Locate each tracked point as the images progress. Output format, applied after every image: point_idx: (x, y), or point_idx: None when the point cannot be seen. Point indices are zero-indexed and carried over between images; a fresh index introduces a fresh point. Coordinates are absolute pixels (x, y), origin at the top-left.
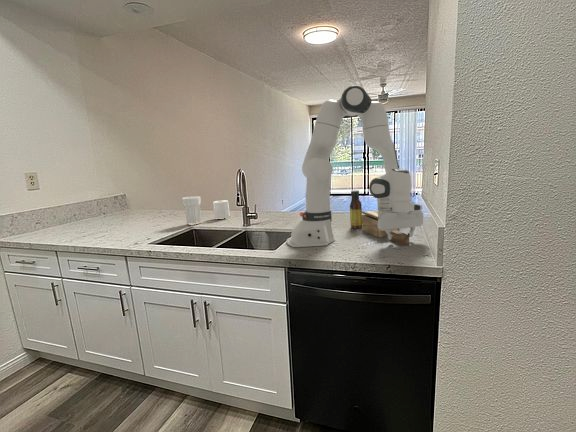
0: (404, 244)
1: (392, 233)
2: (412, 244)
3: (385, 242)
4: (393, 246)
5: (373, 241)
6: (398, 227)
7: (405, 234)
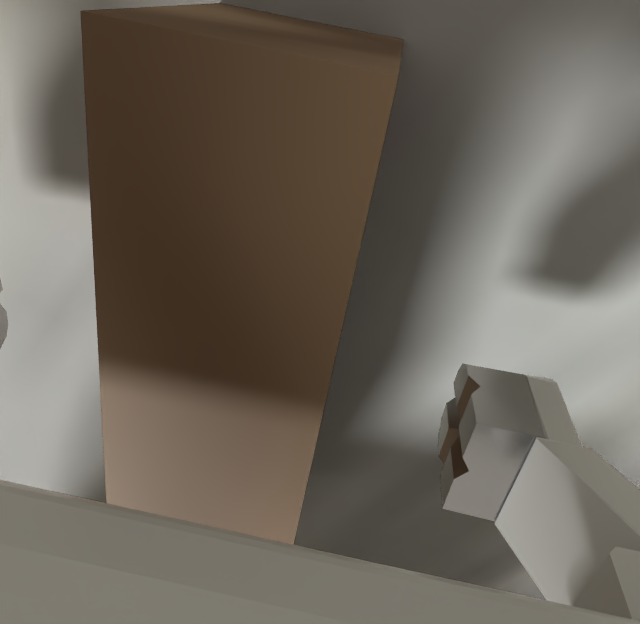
0: (348, 35)
1: None
2: None
3: None
4: (609, 150)
5: None
6: (300, 599)
7: (142, 216)
